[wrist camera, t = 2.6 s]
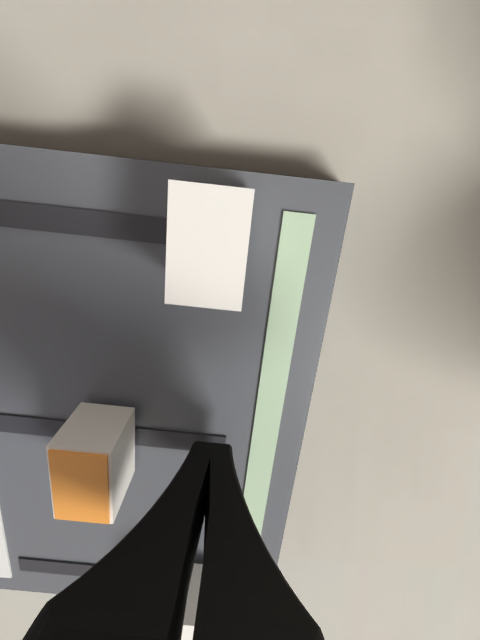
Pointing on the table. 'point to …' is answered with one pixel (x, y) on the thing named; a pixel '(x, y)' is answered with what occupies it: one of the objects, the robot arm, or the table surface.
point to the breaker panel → (149, 342)
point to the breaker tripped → (92, 463)
